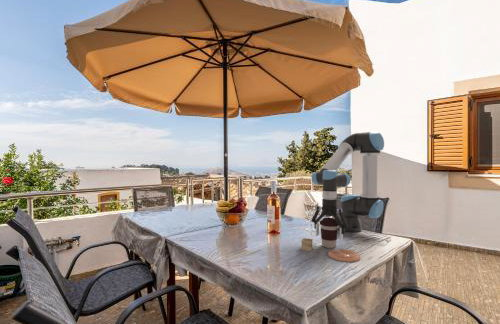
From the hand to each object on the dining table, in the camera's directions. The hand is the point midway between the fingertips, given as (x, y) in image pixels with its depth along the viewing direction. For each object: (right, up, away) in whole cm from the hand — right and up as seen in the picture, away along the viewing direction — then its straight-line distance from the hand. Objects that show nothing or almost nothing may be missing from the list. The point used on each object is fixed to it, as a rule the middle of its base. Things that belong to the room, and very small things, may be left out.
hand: (328, 237), depth 150 cm
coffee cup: (0, -5, 0) cm, 5 cm away
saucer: (+3, -5, -15) cm, 16 cm away
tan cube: (-13, -5, -5) cm, 15 cm away
